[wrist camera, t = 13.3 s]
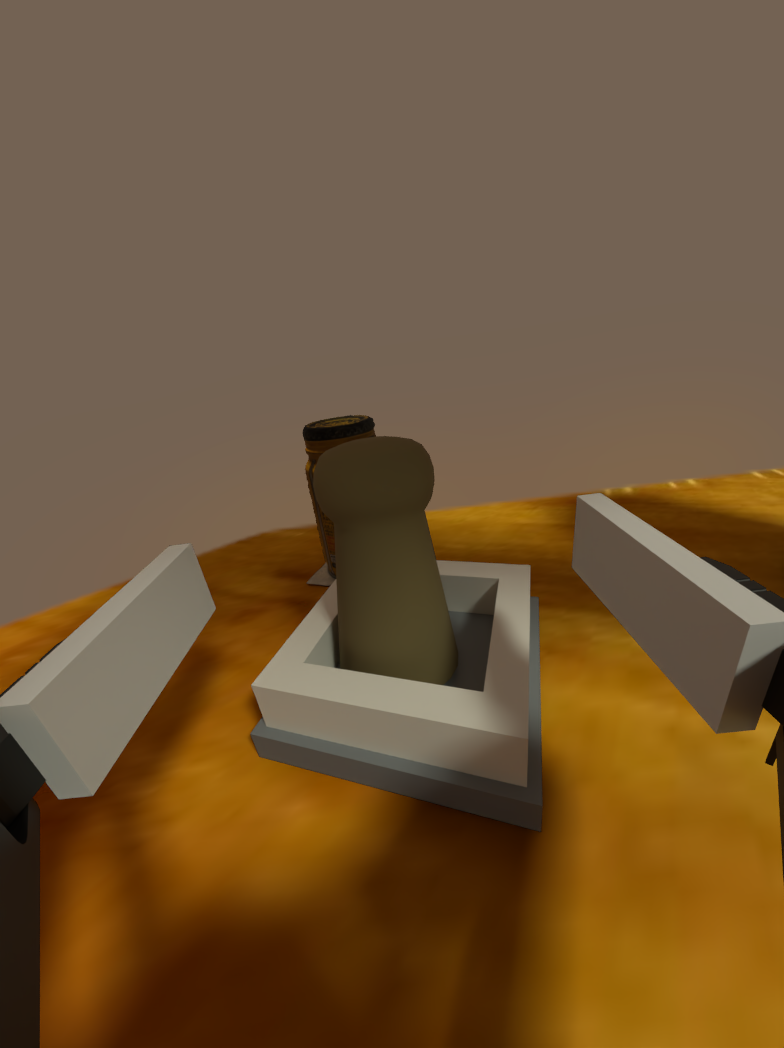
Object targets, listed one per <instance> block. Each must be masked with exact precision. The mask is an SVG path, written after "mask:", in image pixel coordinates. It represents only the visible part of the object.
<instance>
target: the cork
mask: <svg viewBox="0 0 784 1048" xmlns="http://www.w3.org/2000/svg"><path fill="white" fill-rule="evenodd" d="M433 486H434V469H433V465H432V462H431V459H430V456H429V454H428V453H427V451H426V450H425V449H424V447H423V446H422V444H420V443H418V442H416V441H414V440H412V439H407V438H400V437H387V436H383V437H369V438H362V439H357V440H353V441H349V442H346V443H343V444H340V445H338V446H336V447H333V448H331V449H329V450H327V451H325V452H324V453H323V454H322V455H321V456H320V457H319V459H318V462H317V464H316V467H315V470H314V477H313V487H314V492H315V497H316V500H317V502H318V504H319V506H320V508H321V510H322V512H323V513H324V514H325V515H326V516H327V517H328V518H329V519H330V520H331V521H332V522H333V523H334V535H335V559H336V582H337V606H338V629H339V653H340V669H345V670H351V671H357V672H363V673H369V674H375V675H382V676H388V677H394V678H400V679H406V680H412V681H419V682H425V683H431V684H437V685H444V684H445V683H446V682H447V681H448V680H450V679H451V677H452V675H453V674H454V672H455V670H456V668H457V666H458V649H457V645H456V641H455V636H454V632H453V628H452V624H451V620H450V615H449V611H448V607H447V603H446V599H445V594H444V590H443V586H442V582H441V578H440V574H439V569H438V565H437V561H436V557H435V553H434V548H433V544H432V540H431V536H430V532H429V527H428V523H427V519H426V515H425V511H424V510H425V508H426V506H427V505H428V503H429V501H430V499H431V497H432V492H433Z"/></svg>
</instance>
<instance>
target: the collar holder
mask: <svg viewBox="0 0 784 1048" xmlns="http://www.w3.org/2000/svg"><path fill="white" fill-rule="evenodd" d="M436 561H437V565H438V569H439V574H440V578H441V582H442V586H443V590H444V594H445V599H446V603H447V607H448V611H449V615H450V620H451V624H452V628H453V632H454V636H455V641H456V645H457V649H458V666H457V668H456V670H455V672H454V674H453V675H452V677H451V679H450V680H448V681H447V682H446V683H445V684H444V685H437V684H431V683H425V682H419V681H412V680H406V679H400V678H394V677H388V676H382V675H375V674H369V673H363V672H357V671H351V670H345V669H340V653H339V629H338V606H337V582H336V579H335V581H334V582H333V583H332V584H331V586H330V587H329V588H328V589H327V591H326V592H325V593H324V594H323V596H322V597H321V598H320V600H319V601H318V602H317V603H316V605H315V606H314V607H313V608H312V610H311V611H310V612H309V613H308V615H307V616H306V617H305V618H304V620H303V621H302V622H301V623H300V625H299V626H298V627H297V628H296V630H295V631H294V632H293V633H292V635H291V636H290V637H289V638H288V640H287V641H286V642H285V643H284V645H283V646H282V647H281V648H280V650H279V651H278V652H277V653H276V655H275V656H274V657H273V658H272V660H271V661H270V662H269V663H268V665H267V666H266V667H265V668H264V670H263V671H262V672H261V674H260V675H259V676H258V677H257V679H256V680H255V681H254V682H253V684H252V685H251V686H252V689H253V692H254V694H255V697H256V700H257V702H258V705H259V708H260V710H261V713H262V716H263V717H262V718H261V720H260V721H259V722H258V724H257V725H256V727H255V728H254V729H253V731H252V732H251V737H252V739H253V742H254V744H255V747H256V749H257V752H258V754H259V757H263V758H267V759H270V760H274V761H278V762H282V763H285V764H289V765H293V766H297V767H300V768H304V769H308V770H311V771H315V772H319V773H323V774H326V775H330V776H334V777H338V778H341V779H345V780H349V781H353V782H356V783H360V784H364V785H367V786H371V787H375V788H379V789H382V790H386V791H390V792H394V793H397V794H401V795H405V796H409V797H412V798H416V799H420V800H424V801H427V802H431V803H435V804H438V805H442V806H446V807H450V808H453V809H457V810H461V811H465V812H468V813H472V814H476V815H480V816H483V817H487V818H491V819H494V820H498V821H502V822H506V823H509V824H513V825H517V826H521V827H524V828H528V829H532V830H536V831H539V832H541V824H542V754H541V701H540V648H539V597H530V565H518V564H499V563H480V562H461V561H442V560H436Z"/></svg>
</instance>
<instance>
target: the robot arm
mask: <svg viewBox="0 0 784 1048" xmlns="http://www.w3.org/2000/svg"><path fill="white" fill-rule="evenodd" d="M572 568H573V569H574V571H575V572H576V573H577V574H578V575H579V576H580V577H581V579H582V580H583V581H584V582H585V583H586V584H587V585H588V587H589V588H590V589H591V590H592V591H593V592H594V594H595V595H596V596H597V597H598V598H599V599H600V600H601V602H602V603H603V604H604V605H605V606H606V607H607V608H608V610H609V611H610V612H611V613H612V614H613V615H614V617H615V618H616V619H617V620H618V621H619V622H620V623H621V625H622V626H623V627H624V628H625V629H626V630H627V631H628V633H629V634H630V635H631V636H632V637H633V638H634V640H635V641H636V642H637V643H638V644H639V645H640V646H641V648H642V649H643V650H644V651H645V652H646V653H647V654H648V656H649V657H650V658H651V659H652V660H653V661H654V662H655V664H656V665H657V666H658V667H659V668H660V669H661V671H662V672H663V673H664V674H665V675H666V676H667V677H668V679H669V680H670V681H671V682H672V683H673V684H674V685H675V687H676V688H677V689H678V690H679V691H680V692H681V694H682V695H683V696H684V697H685V698H686V699H687V700H688V702H689V703H690V704H691V705H692V706H693V707H694V708H695V710H696V711H697V712H698V713H699V714H700V715H701V717H702V718H703V719H704V720H705V721H706V722H707V723H708V725H709V726H710V727H711V728H712V729H713V730H714V731H715V733H716V734H717V733H727V732H737V731H747V730H755V728H756V725H757V723H758V720H759V717H760V715H761V712H762V709H763V708H764V709H766V710H767V711H768V712H769V713H770V714H771V715H772V716H773V717H774V718H775V719H776V720H777V721H778V722H779V723H780V726H779V729H778V731H777V734H776V736H775V739H774V741H773V743H772V746H771V748H770V751H769V753H768V756H767V759H766V762H765V763H767V764H769V765H772V766H773V764H774V762H775V759H776V758H777V772H778V790H779V808H780V826H781V844H782V862H783V880H784V599H783V598H781V597H780V596H778V595H776V594H775V593H773V592H771V591H767V590H766V588H765V587H763V586H762V585H760V584H759V583H757V582H755V581H754V580H753V581H750V578H749V577H747V576H746V575H744V574H742V573H741V572H739V571H738V570H736V569H734V568H733V567H731V566H729V565H726V564H724V563H721V562H718V561H716V560H713V559H710V558H707V557H700V558H699V557H698V556H696V555H695V554H693V553H692V552H690V551H689V550H687V549H686V548H684V547H683V546H681V545H680V544H678V543H676V542H675V541H673V540H672V539H670V538H669V537H667V536H666V535H664V534H663V533H661V532H660V531H658V530H657V529H655V528H653V527H652V526H650V525H649V524H647V523H646V522H644V521H643V520H641V519H640V518H638V517H637V516H635V515H634V514H632V513H630V512H629V511H627V510H626V509H624V508H623V507H621V506H620V505H618V504H617V503H615V502H614V501H612V500H611V499H609V498H607V497H606V496H604V495H603V494H601V493H596V494H588V495H580V496H577V504H576V517H575V531H574V544H573V558H572ZM215 609H216V607H215V605H214V602H213V599H212V597H211V594H210V591H209V589H208V586H207V583H206V581H205V578H204V576H203V573H202V570H201V568H200V565H199V562H198V560H197V557H196V554H195V552H194V549H193V546H192V544H191V543H187V544H180V545H171V546H169V547H168V548H166V549H165V550H164V551H163V552H162V553H161V554H160V555H159V556H157V557H156V559H154V560H153V561H152V562H151V563H150V564H149V565H147V566H146V567H145V568H144V569H143V570H142V571H141V572H140V573H139V574H137V575H136V576H135V577H134V578H133V579H132V580H131V581H130V582H129V583H127V584H126V585H125V586H124V587H123V588H122V589H121V590H120V591H119V592H117V593H116V594H115V595H114V596H113V597H112V598H111V599H110V600H109V601H107V602H106V603H105V604H104V605H103V606H102V607H101V608H100V609H99V610H97V611H96V612H95V613H94V614H93V615H92V616H91V617H90V618H89V619H87V620H86V621H85V622H84V623H83V624H82V625H81V626H80V627H79V628H77V629H76V630H75V631H74V632H73V633H72V634H71V635H70V636H69V637H67V638H66V639H65V640H63V641H61V642H60V643H58V644H57V645H56V646H54V647H53V648H52V649H51V650H50V651H49V652H48V653H47V654H45V655H44V656H43V657H42V658H41V659H40V662H39V663H35V664H34V665H33V666H32V667H31V668H30V669H29V670H28V671H26V672H25V676H21V677H20V678H19V679H17V680H16V681H15V682H14V683H13V684H12V685H11V686H10V687H9V688H7V689H6V690H5V691H4V692H3V693H2V694H1V695H0V1048H40V809H39V807H38V805H37V803H36V802H35V800H34V799H33V798H32V797H33V796H34V795H35V794H36V792H37V791H38V790H39V789H40V787H41V786H42V785H43V784H44V782H46V783H47V785H48V786H49V787H50V789H51V790H52V791H53V792H54V794H55V795H56V796H57V798H58V799H67V798H77V797H87V796H93V795H94V794H95V792H96V791H97V789H98V788H99V786H100V785H101V783H102V782H103V780H104V778H105V777H106V775H107V774H108V772H109V771H110V769H111V768H112V766H113V765H114V763H115V762H116V760H117V759H118V757H119V756H120V754H121V753H122V751H123V750H124V748H125V747H126V745H127V743H128V742H129V740H130V739H131V737H132V736H133V734H134V733H135V731H136V730H137V728H138V727H139V725H140V724H141V722H142V721H143V719H144V718H145V716H146V715H147V713H148V711H149V710H150V708H151V707H152V705H153V704H154V702H155V701H156V699H157V698H158V696H159V695H160V693H161V692H162V690H163V689H164V687H165V686H166V684H167V683H168V681H169V680H170V678H171V676H172V675H173V673H174V672H175V670H176V669H177V667H178V666H179V664H180V663H181V661H182V660H183V658H184V657H185V655H186V654H187V652H188V651H189V649H190V648H191V646H192V644H193V643H194V641H195V640H196V638H197V637H198V635H199V634H200V632H201V631H202V629H203V628H204V626H205V625H206V623H207V622H208V620H209V619H210V617H211V616H212V614H213V612H214V611H215Z"/></svg>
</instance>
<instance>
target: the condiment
mask: <svg viewBox="0 0 784 1048" xmlns="http://www.w3.org/2000/svg"><path fill="white" fill-rule="evenodd" d="M374 426H375V424H374V422H373V418H370V417H369V416H364V415H363V416H362V415H354V416H351V415H350V416H344V417H336V418H330V419H324V420H320V421H316V422H312V423H310V424H308V425H306V426H305V427H304V429H303V437H304V440H305V445H306V449H305V450H306V453H307V454H308V455H309V460H308V462H307V465H306V468H305V470H306V475H307V480H308V488H309V490H310V495H311V499H312V503H313V509H314V513H315V517H316V523H317V529H318V531H319V535H320V540H321V545H322V547H323V554H324V558H325V561H326V563H325V564H324V565H323V566H322V567H321V568H320V569H319V570H318V571H317V572H316V573H315V574H314V575H313V576H312V577H311V578H310V579H309V580H308V582H307V583H306V584H317V585H325V586H330V585H331V584H332V583H333V582H334V581H335V579H336V559H335V535H334V523H333V522H332V521H331V520H330V519H329V518H328V517H327V516H326V515H325V514H324V513H323V512H322V510H321V508H320V506H319V504H318V502H317V500H316V497H315V492H314V487H313V477H314V470H315V467H316V464H317V462H318V459H319V457H320V456H321V455H322V454H323V453H324V452H325V451H327V450H329V449H331V448H333V447H336V446H338V445H340V444H343V443H346V442H349V441H353V440H357V439H362V438H369V437H376V435H375V431H374Z"/></svg>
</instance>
